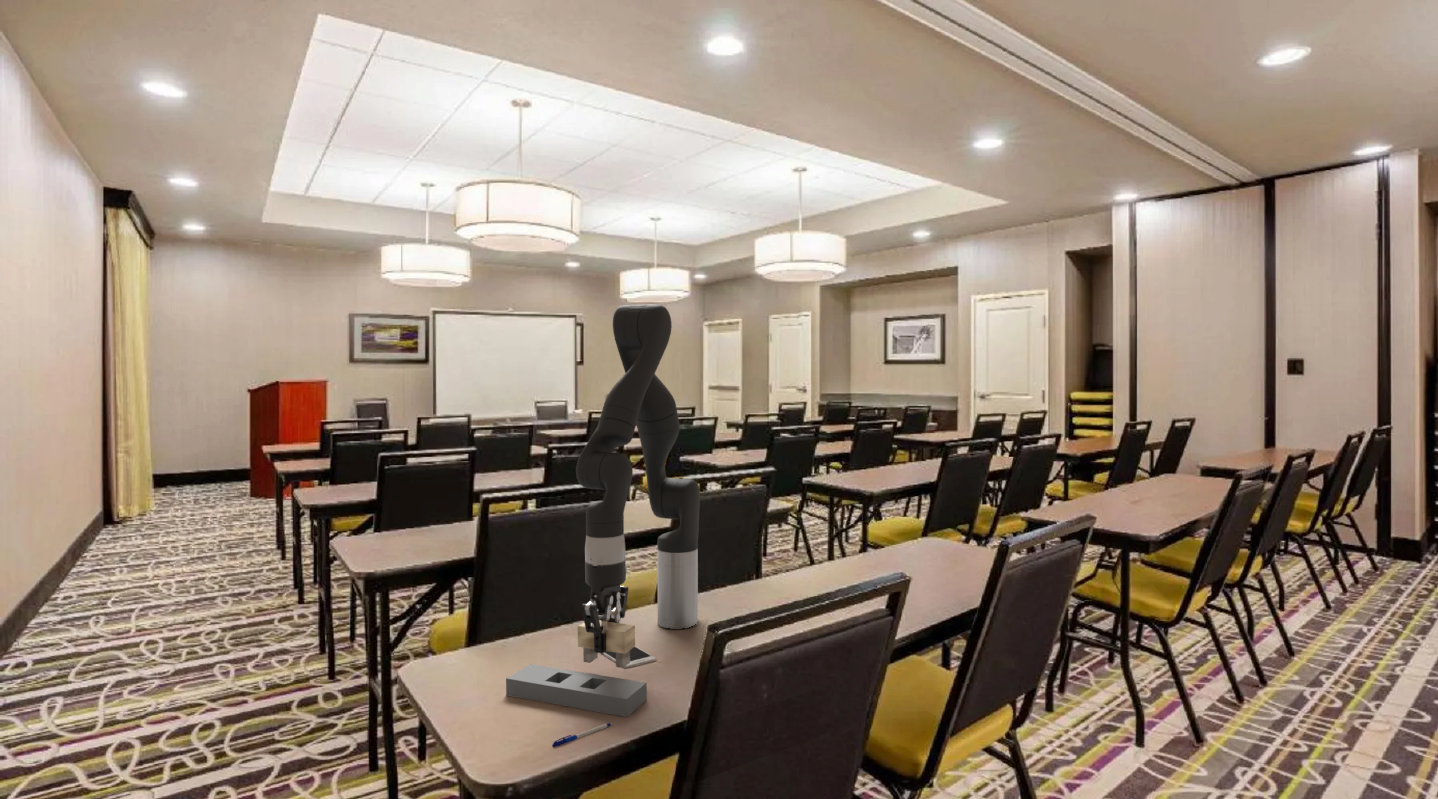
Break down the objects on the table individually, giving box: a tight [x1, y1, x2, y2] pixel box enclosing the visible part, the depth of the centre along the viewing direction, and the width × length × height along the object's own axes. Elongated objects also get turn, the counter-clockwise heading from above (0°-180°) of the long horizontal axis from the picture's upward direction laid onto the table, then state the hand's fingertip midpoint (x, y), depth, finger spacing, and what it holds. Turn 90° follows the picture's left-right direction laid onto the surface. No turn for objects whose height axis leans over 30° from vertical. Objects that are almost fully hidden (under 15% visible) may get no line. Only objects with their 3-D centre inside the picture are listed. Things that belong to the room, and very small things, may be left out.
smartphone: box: [600, 645, 656, 669], centre depth 150 cm, size 7×15×1 cm, turn 36°
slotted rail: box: [505, 663, 648, 718], centre depth 128 cm, size 24×7×3 cm, turn 69°
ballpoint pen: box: [551, 722, 612, 748], centre depth 114 cm, size 10×1×1 cm, turn 135°
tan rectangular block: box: [577, 620, 636, 669], centre depth 138 cm, size 10×4×7 cm, turn 69°
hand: (606, 647), depth 138 cm, fingers closed on tan rectangular block, 4 cm apart
